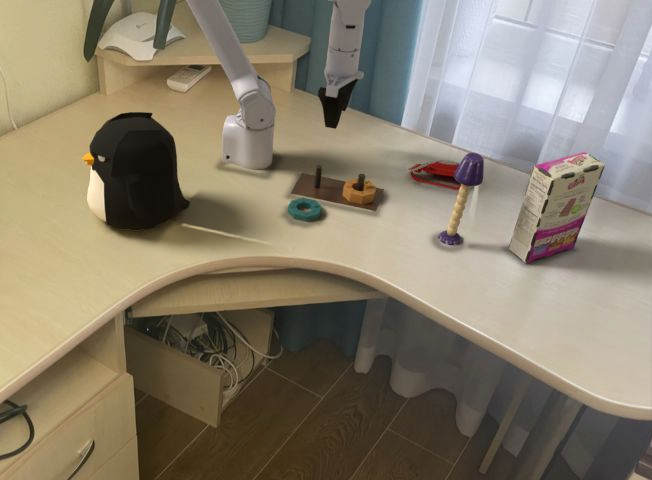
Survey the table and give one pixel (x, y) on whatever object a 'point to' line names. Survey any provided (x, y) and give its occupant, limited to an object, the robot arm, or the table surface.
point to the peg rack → (331, 189)
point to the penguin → (134, 173)
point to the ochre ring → (359, 192)
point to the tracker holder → (435, 171)
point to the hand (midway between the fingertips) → (335, 118)
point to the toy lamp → (463, 194)
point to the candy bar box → (555, 206)
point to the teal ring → (303, 215)
